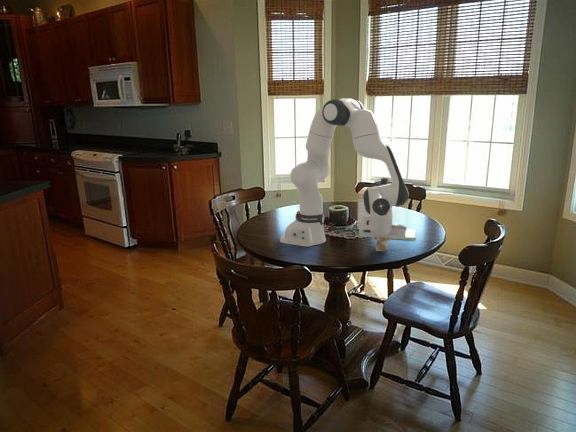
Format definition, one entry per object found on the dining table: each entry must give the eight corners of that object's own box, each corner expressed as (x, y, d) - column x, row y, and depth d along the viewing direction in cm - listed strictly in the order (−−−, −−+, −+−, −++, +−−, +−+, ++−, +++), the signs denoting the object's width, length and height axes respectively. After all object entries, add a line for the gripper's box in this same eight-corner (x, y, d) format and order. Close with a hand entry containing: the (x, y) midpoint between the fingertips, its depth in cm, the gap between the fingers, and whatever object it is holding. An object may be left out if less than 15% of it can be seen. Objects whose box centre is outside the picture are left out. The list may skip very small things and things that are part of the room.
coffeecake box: (363, 220, 236) (363, 186, 231) (375, 221, 234) (376, 187, 228) (356, 228, 223) (357, 192, 218) (370, 229, 220) (371, 193, 215)
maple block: (376, 250, 191) (376, 231, 189) (376, 247, 195) (377, 228, 193) (386, 251, 190) (387, 232, 187) (386, 248, 194) (387, 229, 192)
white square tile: (385, 238, 207) (385, 235, 207) (386, 229, 220) (386, 227, 220) (415, 240, 203) (415, 237, 203) (414, 231, 216) (414, 228, 216)
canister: (393, 209, 258) (394, 177, 252) (389, 213, 249) (391, 180, 243) (375, 207, 262) (376, 176, 257) (371, 212, 253) (372, 179, 247)
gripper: (407, 219, 179) (405, 234, 191) (358, 217, 184) (360, 231, 196) (406, 232, 176) (405, 246, 188) (357, 229, 181) (359, 243, 193)
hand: (382, 238), depth 192 cm, fingers closed on maple block, 4 cm apart
